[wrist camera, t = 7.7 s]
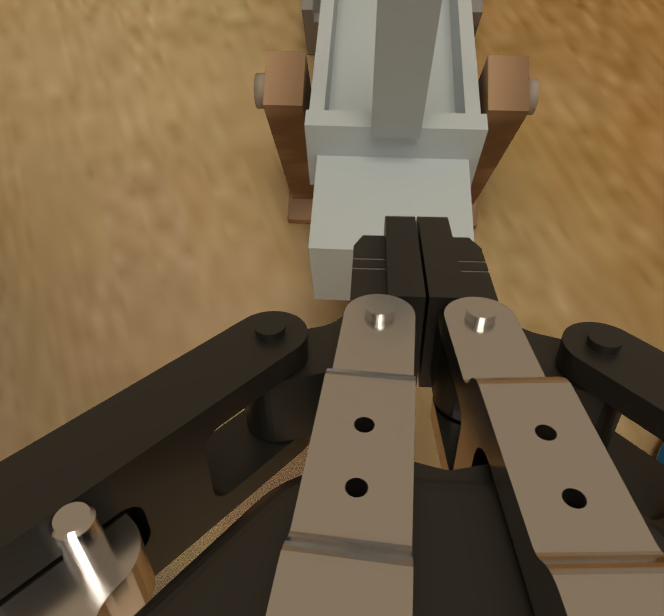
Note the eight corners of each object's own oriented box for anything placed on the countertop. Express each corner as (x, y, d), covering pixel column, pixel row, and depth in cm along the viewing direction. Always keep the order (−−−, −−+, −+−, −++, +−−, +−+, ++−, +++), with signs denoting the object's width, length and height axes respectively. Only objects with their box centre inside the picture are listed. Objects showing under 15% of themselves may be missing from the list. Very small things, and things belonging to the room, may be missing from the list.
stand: (283, 222, 33) (248, 134, 22) (289, 144, 34) (257, 22, 23) (479, 229, 32) (542, 142, 21) (480, 149, 33) (541, 26, 22)
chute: (305, 298, 23) (254, -37, 11) (331, 21, 32) (319, -355, 19) (465, 305, 23) (605, -32, 10) (449, 22, 31) (518, -359, 19)
